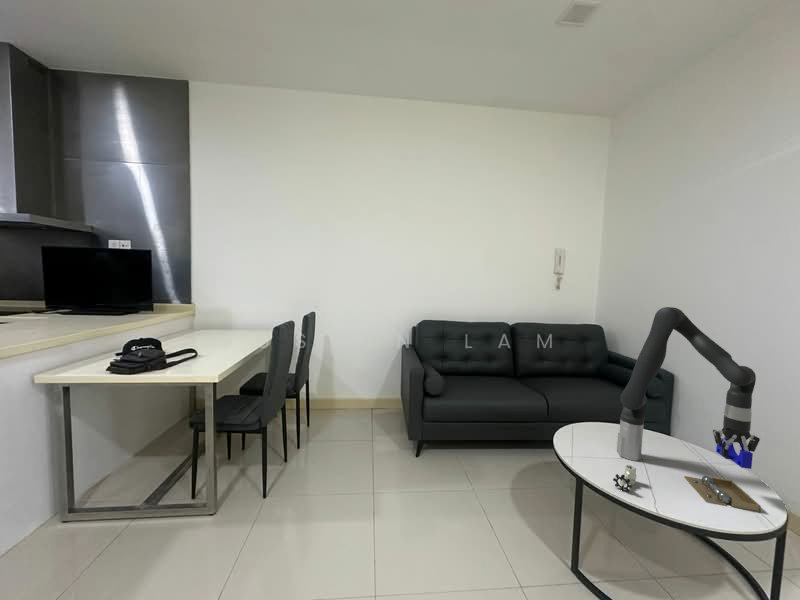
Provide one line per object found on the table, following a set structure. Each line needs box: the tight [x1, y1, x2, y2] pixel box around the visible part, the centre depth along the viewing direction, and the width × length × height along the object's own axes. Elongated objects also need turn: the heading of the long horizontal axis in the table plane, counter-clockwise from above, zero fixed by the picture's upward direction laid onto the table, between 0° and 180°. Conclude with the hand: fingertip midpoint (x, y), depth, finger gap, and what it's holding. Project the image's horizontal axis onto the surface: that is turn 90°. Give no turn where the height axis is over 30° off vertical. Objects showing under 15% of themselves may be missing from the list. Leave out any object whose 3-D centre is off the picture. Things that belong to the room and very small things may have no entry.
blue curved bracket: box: [715, 437, 754, 470], centre depth 132 cm, size 12×4×6 cm, turn 165°
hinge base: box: [683, 475, 762, 513], centre depth 134 cm, size 16×17×3 cm
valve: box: [612, 464, 638, 493], centre depth 137 cm, size 7×7×12 cm
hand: (733, 458), depth 132 cm, fingers closed on blue curved bracket, 4 cm apart
